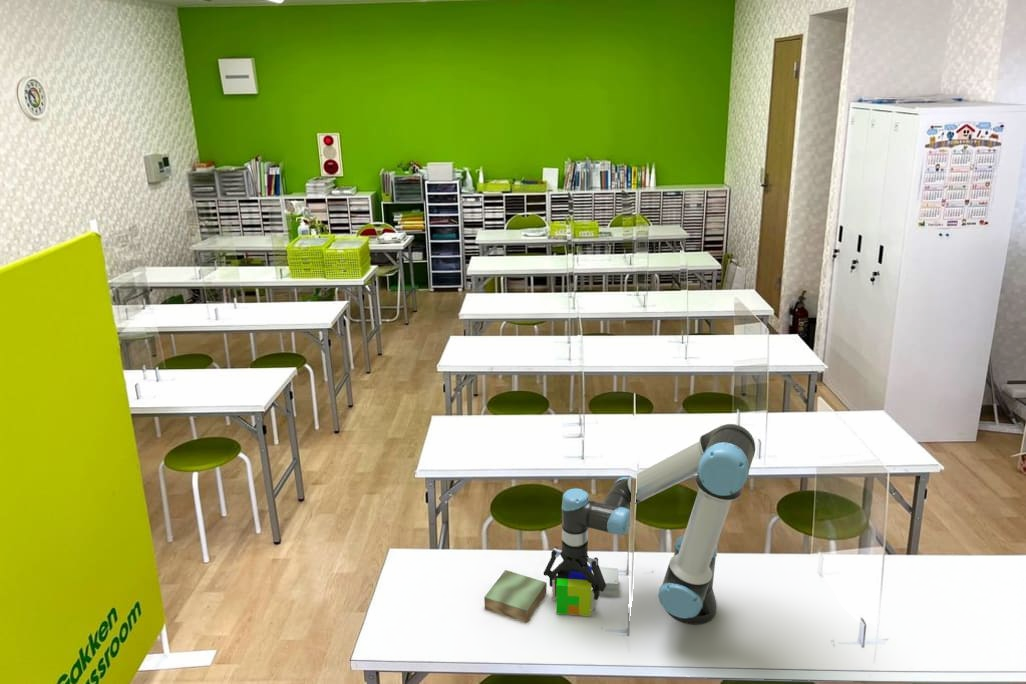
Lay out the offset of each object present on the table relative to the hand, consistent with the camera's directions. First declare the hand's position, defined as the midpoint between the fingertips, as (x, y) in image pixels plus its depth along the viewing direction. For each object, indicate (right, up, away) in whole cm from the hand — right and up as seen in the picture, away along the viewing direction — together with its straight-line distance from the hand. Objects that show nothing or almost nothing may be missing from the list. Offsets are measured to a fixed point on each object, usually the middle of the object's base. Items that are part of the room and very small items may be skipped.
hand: (574, 601), depth 229 cm
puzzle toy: (0, -1, 0) cm, 1 cm away
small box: (+10, +1, +8) cm, 13 cm away
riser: (-17, -1, +2) cm, 17 cm away
